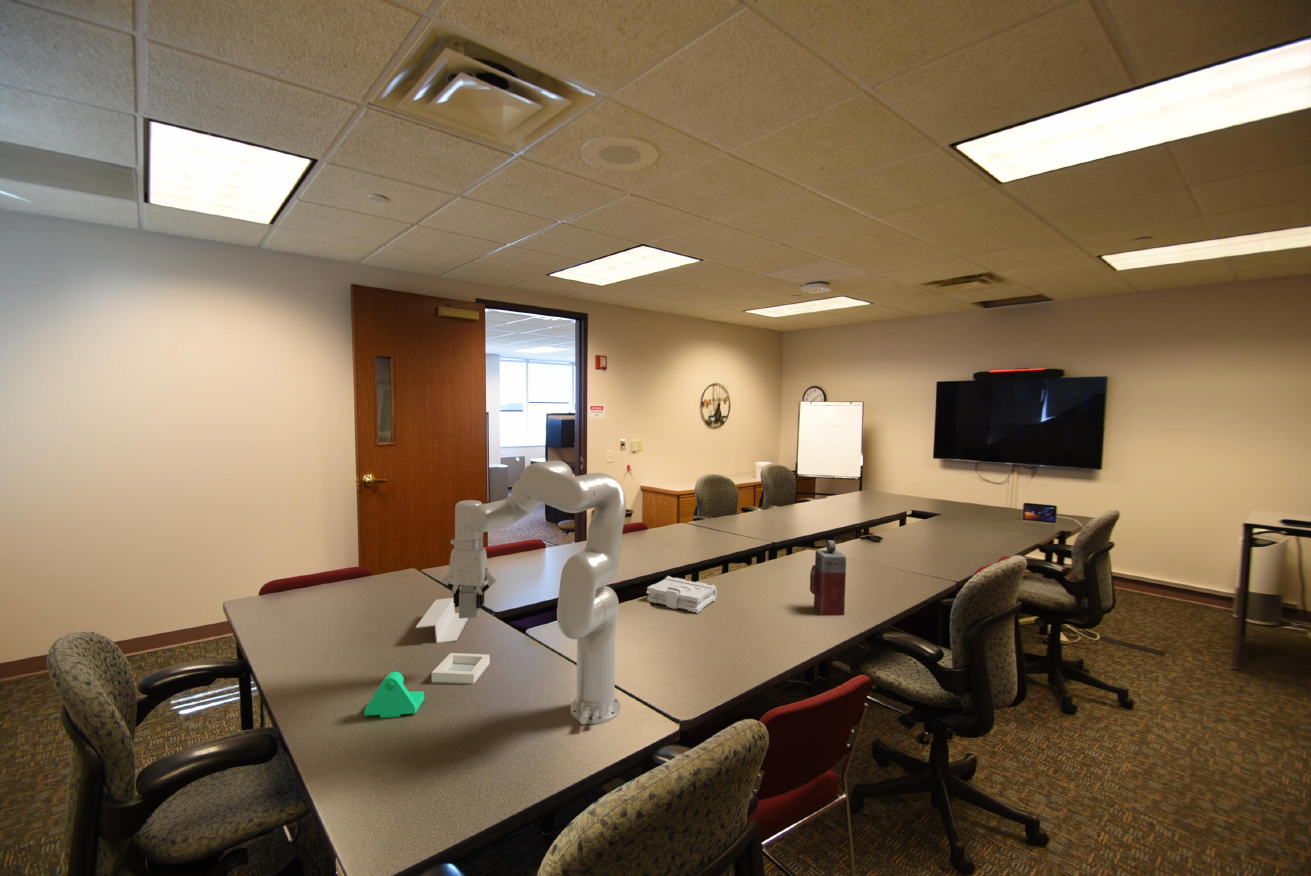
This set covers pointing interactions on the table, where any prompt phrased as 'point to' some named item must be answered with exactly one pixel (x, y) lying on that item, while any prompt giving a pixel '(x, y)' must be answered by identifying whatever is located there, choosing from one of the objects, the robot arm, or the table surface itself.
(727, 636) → the table surface
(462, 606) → the power adapter
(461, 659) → the tray
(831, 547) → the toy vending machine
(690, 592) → the book
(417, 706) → the camera mount
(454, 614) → the z bracket
